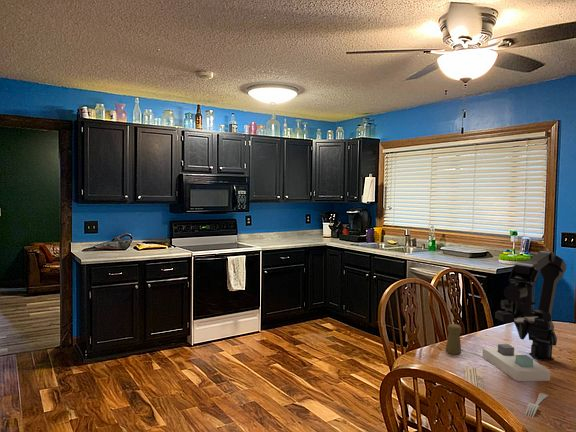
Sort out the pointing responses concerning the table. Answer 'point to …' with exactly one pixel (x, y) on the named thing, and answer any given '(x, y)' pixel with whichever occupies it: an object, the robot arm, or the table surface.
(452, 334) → the olive brown upright piece
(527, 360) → the teal green cube
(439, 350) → the table surface
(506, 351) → the dark grey cube
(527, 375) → the white socket board
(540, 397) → the fork
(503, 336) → the table surface
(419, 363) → the table surface
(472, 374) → the newspaper
